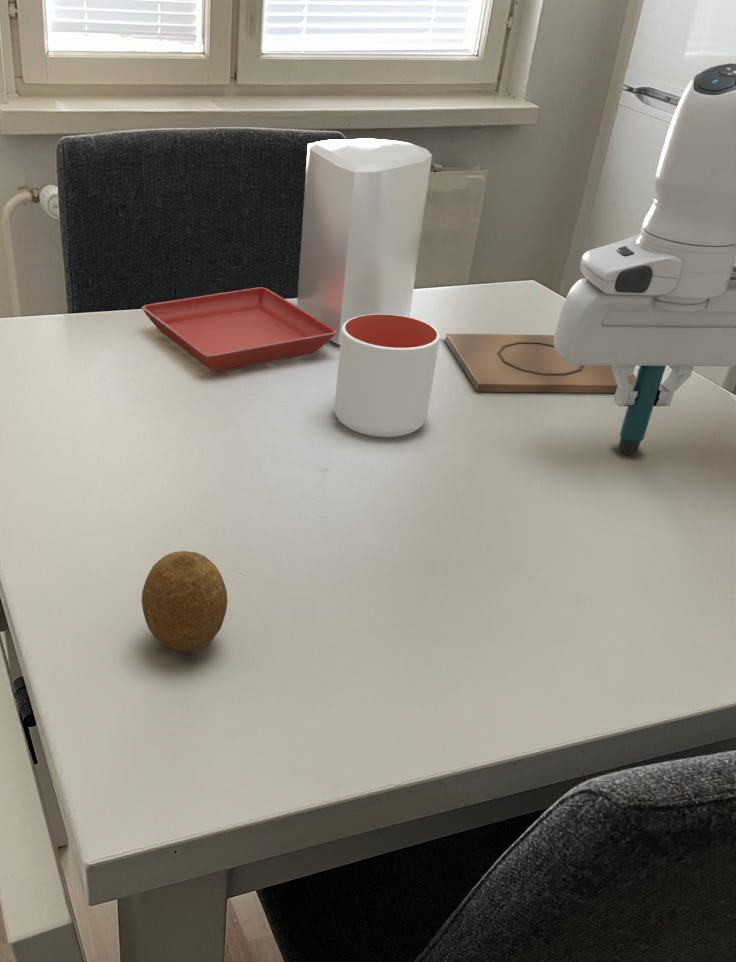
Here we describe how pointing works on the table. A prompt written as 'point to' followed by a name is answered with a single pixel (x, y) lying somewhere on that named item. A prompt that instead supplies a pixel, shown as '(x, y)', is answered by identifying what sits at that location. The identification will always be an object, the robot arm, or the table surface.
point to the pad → (526, 365)
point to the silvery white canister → (361, 228)
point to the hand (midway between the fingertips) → (640, 404)
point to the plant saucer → (239, 328)
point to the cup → (385, 374)
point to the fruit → (184, 601)
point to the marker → (640, 408)
